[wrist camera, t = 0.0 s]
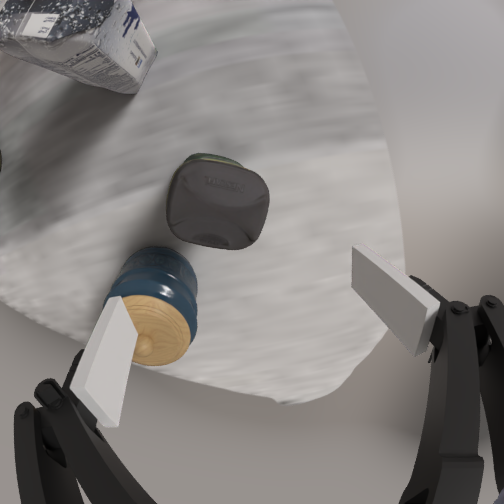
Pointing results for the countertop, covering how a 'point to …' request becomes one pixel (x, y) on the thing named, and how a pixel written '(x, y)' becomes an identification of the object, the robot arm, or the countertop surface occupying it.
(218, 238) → the coffee jar
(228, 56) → the countertop surface
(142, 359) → the canister
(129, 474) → the robot arm
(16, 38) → the juice carton
